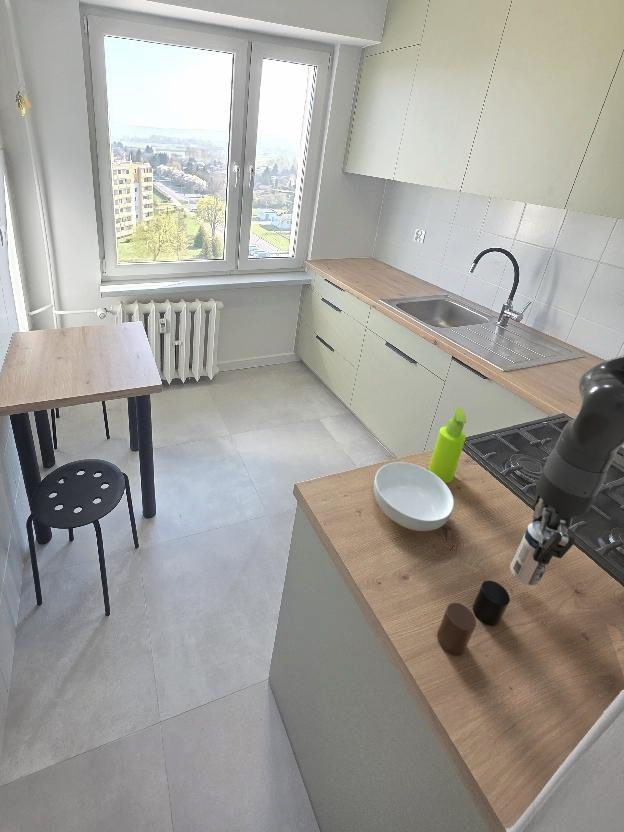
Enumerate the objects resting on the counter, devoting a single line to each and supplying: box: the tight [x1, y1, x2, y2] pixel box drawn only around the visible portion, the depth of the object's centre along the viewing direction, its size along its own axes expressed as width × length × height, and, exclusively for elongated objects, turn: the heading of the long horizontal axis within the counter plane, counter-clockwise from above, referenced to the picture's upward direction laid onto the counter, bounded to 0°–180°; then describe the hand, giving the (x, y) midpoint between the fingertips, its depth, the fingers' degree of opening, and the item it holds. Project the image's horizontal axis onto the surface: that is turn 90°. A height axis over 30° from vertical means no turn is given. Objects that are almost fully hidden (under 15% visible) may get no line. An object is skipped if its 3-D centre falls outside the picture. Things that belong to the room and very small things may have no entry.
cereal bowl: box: [373, 461, 455, 532], centre depth 95 cm, size 17×17×7 cm
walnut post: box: [436, 602, 477, 657], centre depth 70 cm, size 4×4×7 cm
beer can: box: [509, 521, 557, 587], centre depth 77 cm, size 5×5×12 cm
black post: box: [472, 580, 511, 627], centre depth 75 cm, size 4×4×6 cm
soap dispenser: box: [427, 407, 467, 483], centre depth 104 cm, size 6×7×20 cm
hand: (536, 548), depth 76 cm, fingers closed on beer can, 4 cm apart
